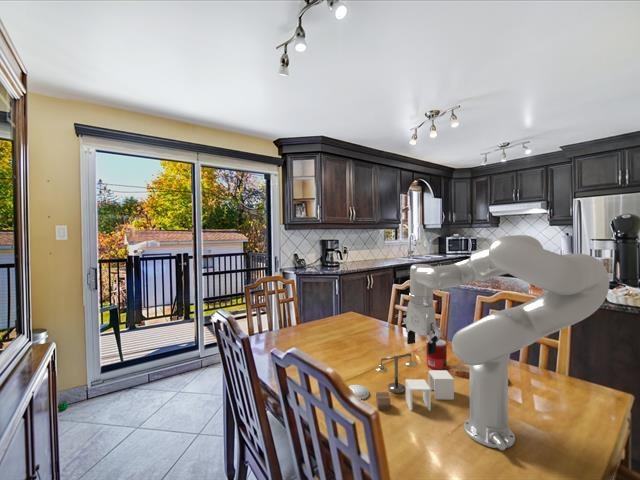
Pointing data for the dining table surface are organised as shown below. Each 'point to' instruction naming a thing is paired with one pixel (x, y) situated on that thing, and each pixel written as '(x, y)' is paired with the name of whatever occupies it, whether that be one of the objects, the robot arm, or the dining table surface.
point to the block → (383, 400)
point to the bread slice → (461, 371)
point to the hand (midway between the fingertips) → (421, 348)
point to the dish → (360, 391)
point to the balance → (395, 386)
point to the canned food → (438, 356)
